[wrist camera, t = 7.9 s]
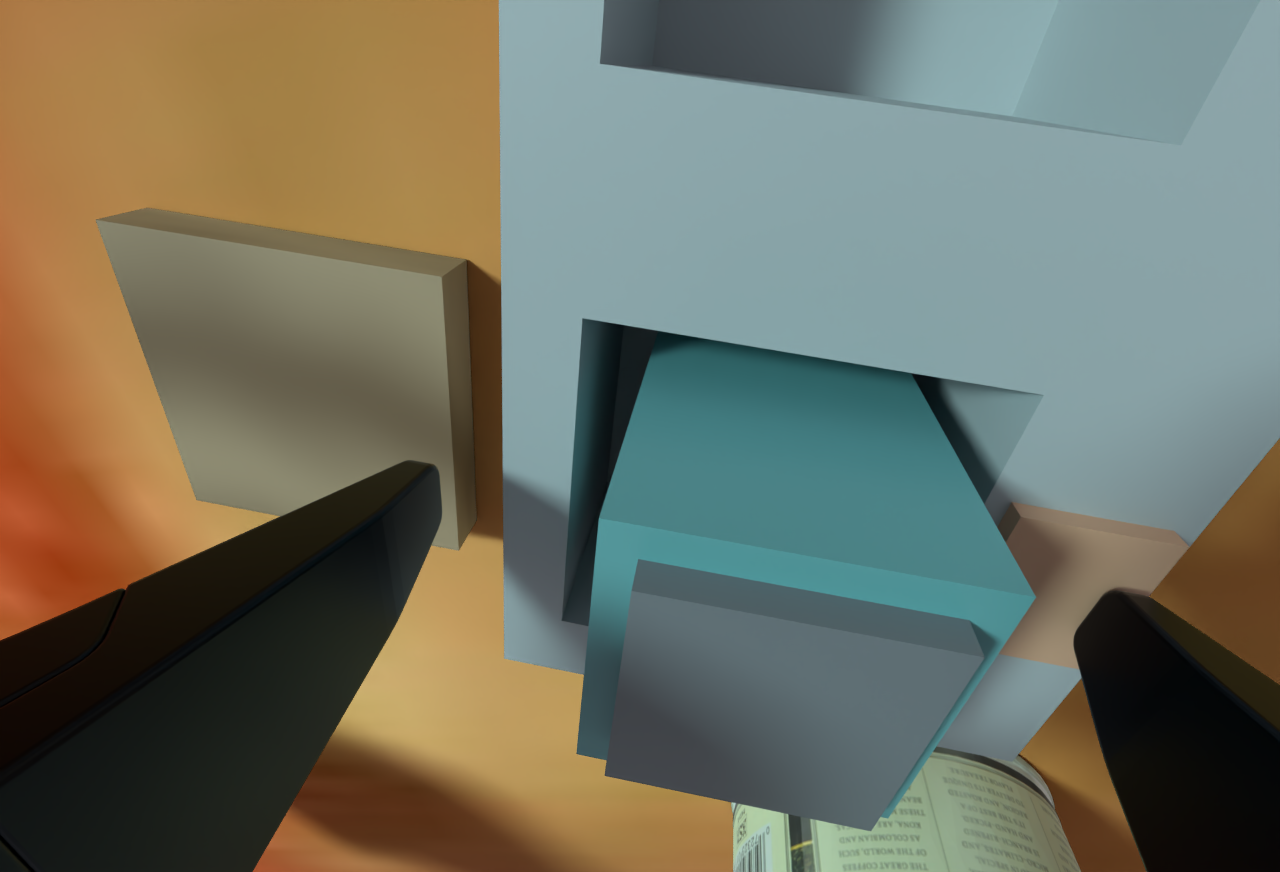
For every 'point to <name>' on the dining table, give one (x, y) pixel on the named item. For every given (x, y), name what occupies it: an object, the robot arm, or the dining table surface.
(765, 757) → the plug
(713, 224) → the socket block
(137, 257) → the beige square plate
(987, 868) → the coffee can
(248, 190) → the dining table surface
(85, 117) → the dining table surface
